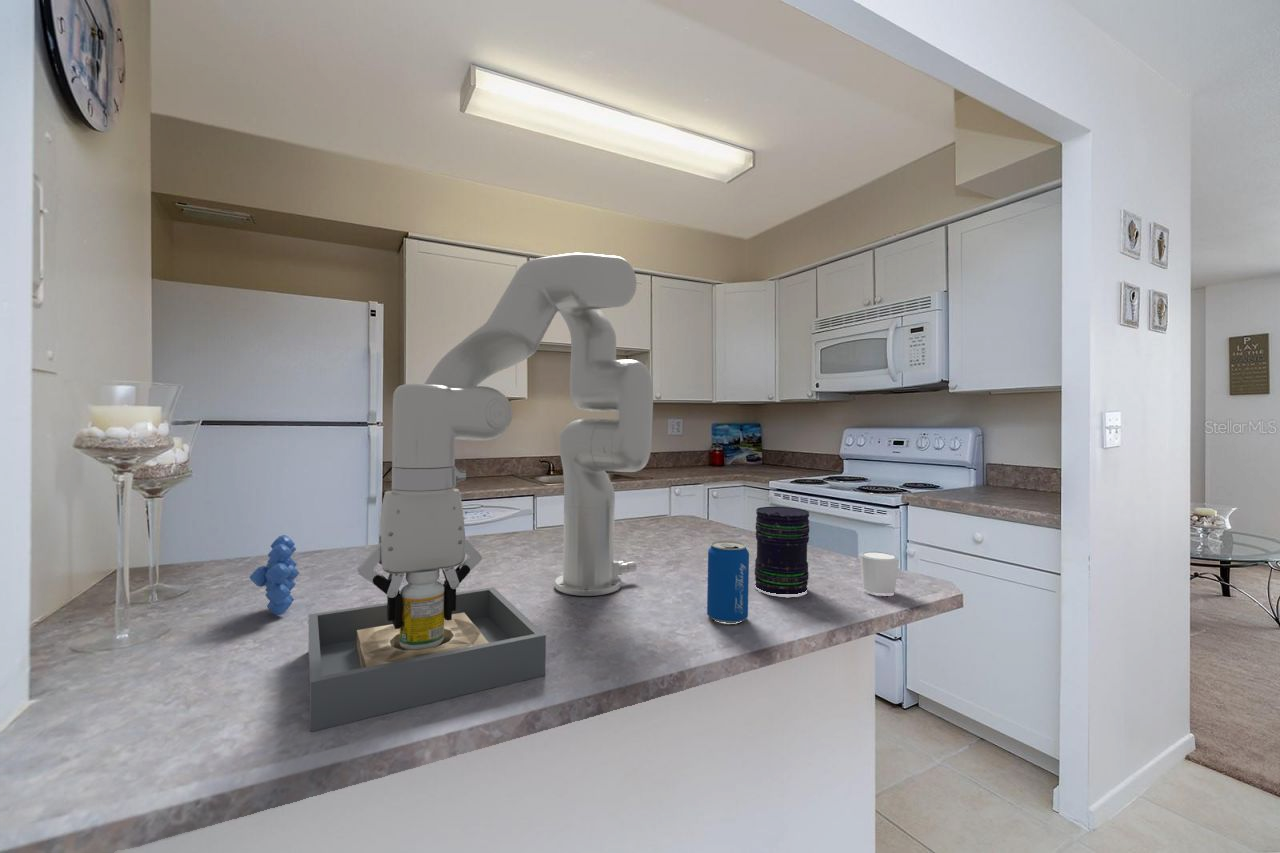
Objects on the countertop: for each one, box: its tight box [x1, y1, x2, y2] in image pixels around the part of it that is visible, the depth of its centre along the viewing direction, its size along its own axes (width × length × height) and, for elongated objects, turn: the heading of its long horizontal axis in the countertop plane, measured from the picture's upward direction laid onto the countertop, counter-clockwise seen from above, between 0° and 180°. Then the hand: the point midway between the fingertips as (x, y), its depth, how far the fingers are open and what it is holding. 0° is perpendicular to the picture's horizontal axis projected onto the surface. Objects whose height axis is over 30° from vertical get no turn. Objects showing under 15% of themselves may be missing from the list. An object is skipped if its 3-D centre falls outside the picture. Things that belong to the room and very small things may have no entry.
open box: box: [307, 587, 547, 732], centre depth 72 cm, size 25×22×5 cm
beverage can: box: [706, 540, 750, 623], centre depth 89 cm, size 6×6×12 cm
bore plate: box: [357, 612, 489, 668], centre depth 72 cm, size 14×14×2 cm
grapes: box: [249, 534, 300, 616], centre depth 89 cm, size 12×7×12 cm, turn 27°
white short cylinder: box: [859, 551, 900, 593], centre depth 104 cm, size 7×7×7 cm
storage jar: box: [754, 506, 810, 594], centre depth 105 cm, size 10×10×15 cm
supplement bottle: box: [399, 569, 445, 650], centre depth 72 cm, size 5×5×10 cm
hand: (422, 619), depth 72 cm, fingers closed on supplement bottle, 5 cm apart
